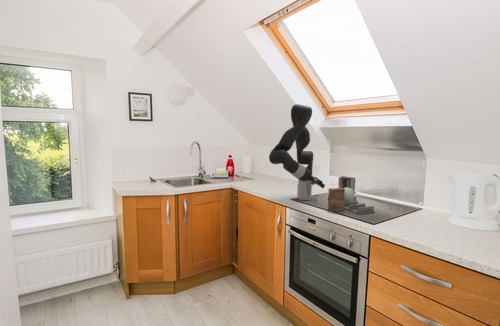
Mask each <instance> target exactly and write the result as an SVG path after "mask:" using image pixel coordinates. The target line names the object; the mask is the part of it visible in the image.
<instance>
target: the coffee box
mask: <svg viewBox="0 0 500 326" xmlns="http://www.w3.org/2000/svg"><path fill="white" fill-rule="evenodd" d="M337 186H338V187H337V188H346V187H348V188H351V189H352V190H353V192H354V196H355V193H356V191H355V190H356V177H353V176H352V177H351V176H340V177H338V185H337ZM353 201H355V198H354V199H353ZM353 201H352V202H353Z"/></svg>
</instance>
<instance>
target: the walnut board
mask: <svg viewBox="0 0 500 326" xmlns="http://www.w3.org/2000/svg"><path fill="white" fill-rule="evenodd" d="M344 194H345V189H344V188H338V187H332V188H328V194H327V195H328V196H327V197H328V198H327V211H329V212H331V213H332V212H340V211H344V210H345V209H344Z"/></svg>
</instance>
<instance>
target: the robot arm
mask: <svg viewBox="0 0 500 326" xmlns="http://www.w3.org/2000/svg"><path fill="white" fill-rule="evenodd" d="M312 115H313V109H312V107H310V106H308V105H304V104H296V103H295V104H294V105H292V106H291V109H290V119H291V123H292V127H290V128H288V130H286V131H285V132H284V133H283V134H282V136H281V138H280V140H279V142H278V143H277V144H276V145H275V147H274V148H272V149H271V151H270V152H269V156H268V158H269V162H270V163H271V164H273V165H279V164H281V165H282V168H283V170H285V171H287V172H288V173H289V174H291V175H292V176H293V177H294V178H296V179H297V180H298V181H297V182H298V183H297V192H296V193H297V197H296V198H297V200H300V201H310V200H312V194H313V193H312V190H313V189H312V188H313V186H314V185H317V186H318V187H320V188H321V189H324V188H325V187H326V184H325V183H323V181H322V180H321V179H319V178H318V177H317V176H314V175H313V166H314V165H313V164H314V152H313V151H312V150H311V151H310V150H305V149H306V148H307V147H308V146H309V144H310V143H311V134H310V131H309V129H308V127H307V125H308V123H309V121H310V120H311V118H312ZM294 144H295V146H296V160H295V159H294V158H293V157H292V156H291V155H290V153H289V151H290V150H291V149H292V147H293V145H294ZM304 165H307V166H304Z"/></svg>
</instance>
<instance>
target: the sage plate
mask: <svg viewBox="0 0 500 326" xmlns="http://www.w3.org/2000/svg"><path fill="white" fill-rule="evenodd" d="M344 189H345V194H344V202H352V201H353V199H354V200H355V195H354V192H353V190H352V189H351V188H348V187H346V188H344Z"/></svg>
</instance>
